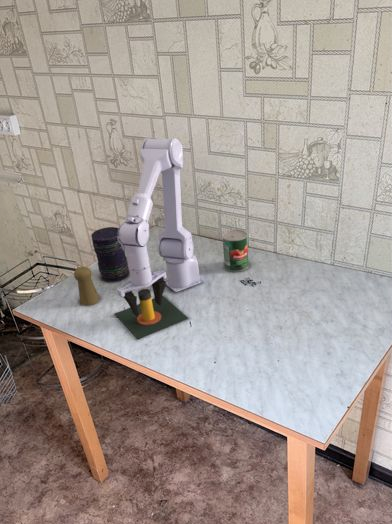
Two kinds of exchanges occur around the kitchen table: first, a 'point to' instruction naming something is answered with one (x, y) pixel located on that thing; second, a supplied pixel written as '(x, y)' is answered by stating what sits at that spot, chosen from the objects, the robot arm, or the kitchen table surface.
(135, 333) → the mat
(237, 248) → the canned tomato
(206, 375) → the kitchen table surface
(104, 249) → the storage jar
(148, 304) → the glue stick
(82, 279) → the olive pawn
